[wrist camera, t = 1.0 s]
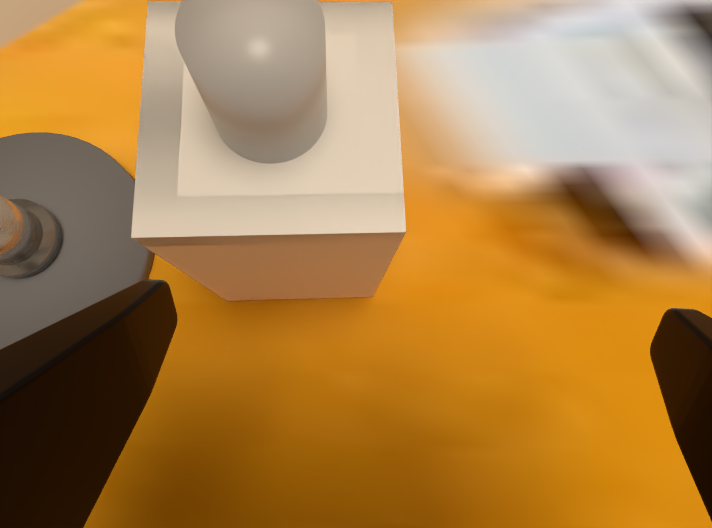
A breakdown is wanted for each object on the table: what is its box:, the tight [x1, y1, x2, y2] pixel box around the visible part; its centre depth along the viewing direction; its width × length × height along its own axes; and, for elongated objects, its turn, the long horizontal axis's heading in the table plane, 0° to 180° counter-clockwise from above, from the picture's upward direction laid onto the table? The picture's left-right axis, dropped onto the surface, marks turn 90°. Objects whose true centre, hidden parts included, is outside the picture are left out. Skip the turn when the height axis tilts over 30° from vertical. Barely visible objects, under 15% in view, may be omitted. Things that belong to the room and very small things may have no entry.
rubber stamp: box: [131, 0, 406, 301], centre depth 15 cm, size 6×6×13 cm
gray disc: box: [0, 133, 155, 349], centre depth 20 cm, size 10×10×1 cm
